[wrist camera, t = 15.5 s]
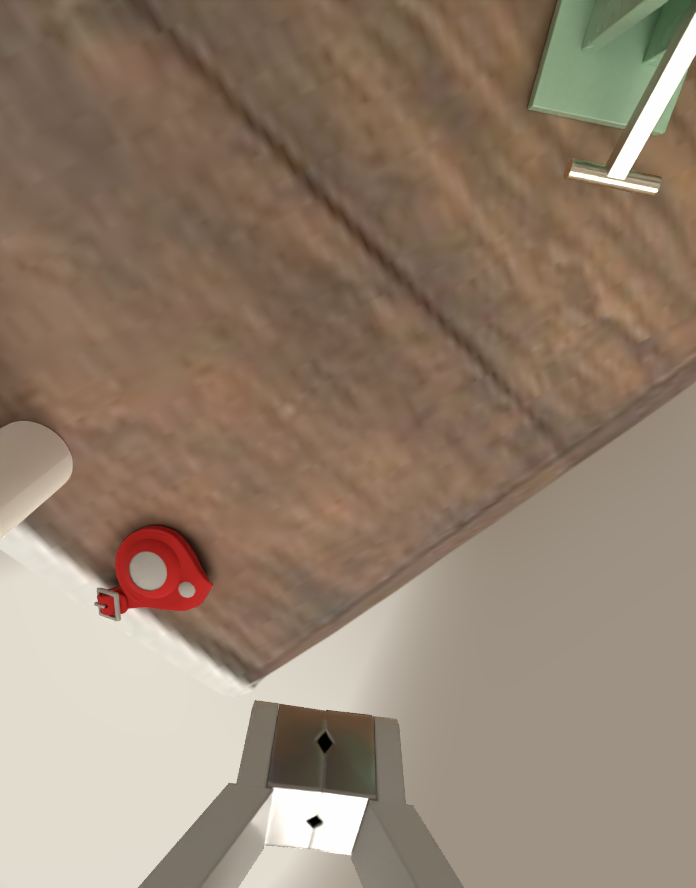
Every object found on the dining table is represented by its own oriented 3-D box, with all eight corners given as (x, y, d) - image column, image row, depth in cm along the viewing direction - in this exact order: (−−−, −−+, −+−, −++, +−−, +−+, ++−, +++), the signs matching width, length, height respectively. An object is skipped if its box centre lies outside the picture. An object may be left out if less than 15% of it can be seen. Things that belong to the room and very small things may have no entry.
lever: (645, 186, 31) (655, 205, 29) (560, 168, 31) (566, 187, 29) (827, -113, 21) (856, -106, 19) (703, -142, 21) (723, -137, 19)
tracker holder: (127, 512, 47) (216, 568, 46) (152, 502, 51) (234, 553, 51) (74, 615, 49) (158, 671, 48) (102, 596, 53) (180, 648, 53)
